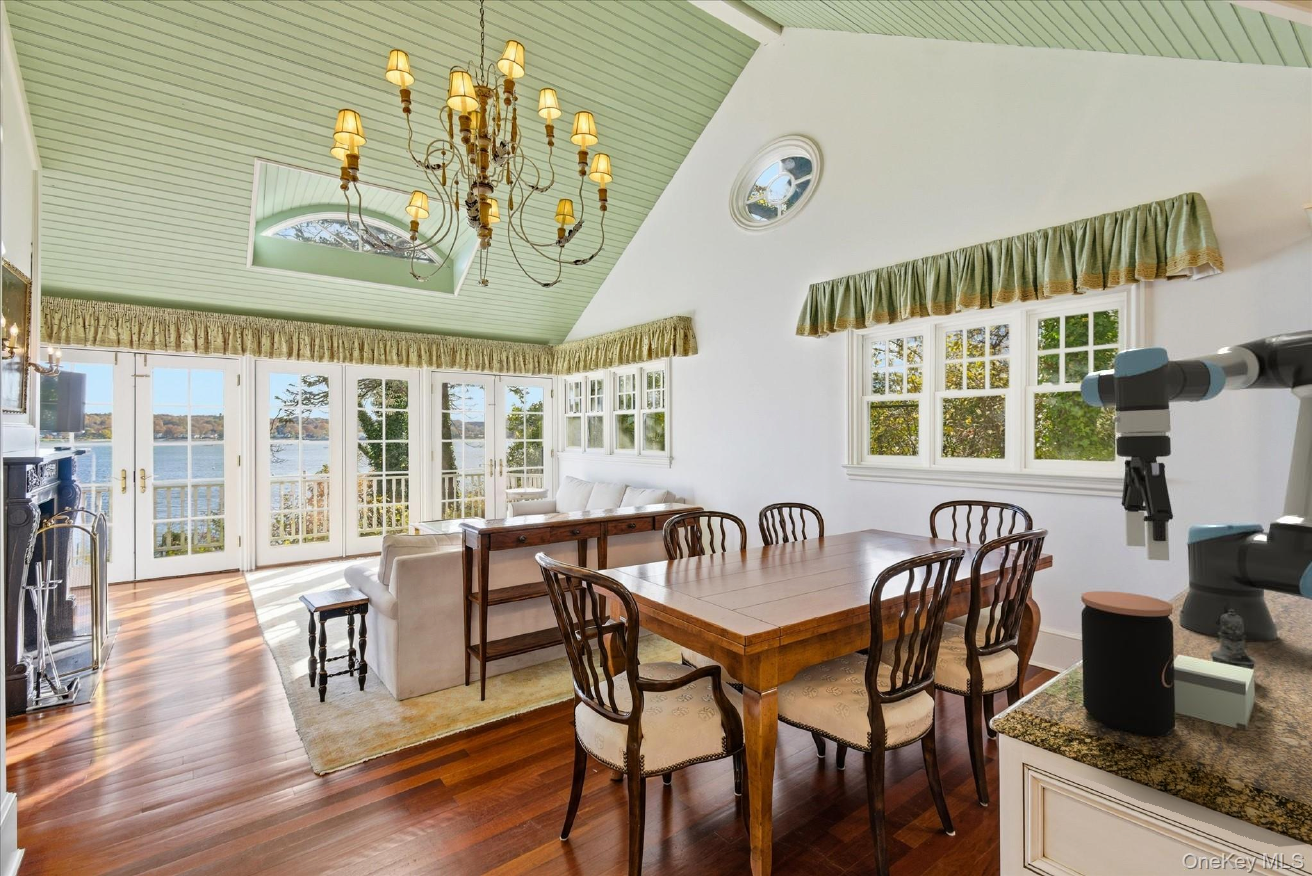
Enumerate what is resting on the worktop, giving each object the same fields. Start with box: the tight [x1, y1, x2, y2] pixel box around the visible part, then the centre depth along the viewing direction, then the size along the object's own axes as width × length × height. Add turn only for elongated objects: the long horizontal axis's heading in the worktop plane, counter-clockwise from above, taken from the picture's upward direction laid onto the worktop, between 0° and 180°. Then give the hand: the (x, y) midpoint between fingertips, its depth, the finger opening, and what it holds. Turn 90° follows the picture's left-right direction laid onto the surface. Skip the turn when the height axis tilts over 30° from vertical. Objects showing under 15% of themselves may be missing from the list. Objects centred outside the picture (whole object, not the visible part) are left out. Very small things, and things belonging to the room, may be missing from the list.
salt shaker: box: [1209, 609, 1258, 684], centre depth 102 cm, size 6×6×12 cm
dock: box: [1174, 654, 1256, 732], centre depth 91 cm, size 14×9×7 cm, turn 131°
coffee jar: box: [1080, 590, 1176, 738], centre depth 87 cm, size 11×11×18 cm
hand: (1146, 552), depth 105 cm, fingers open, 13 cm apart
